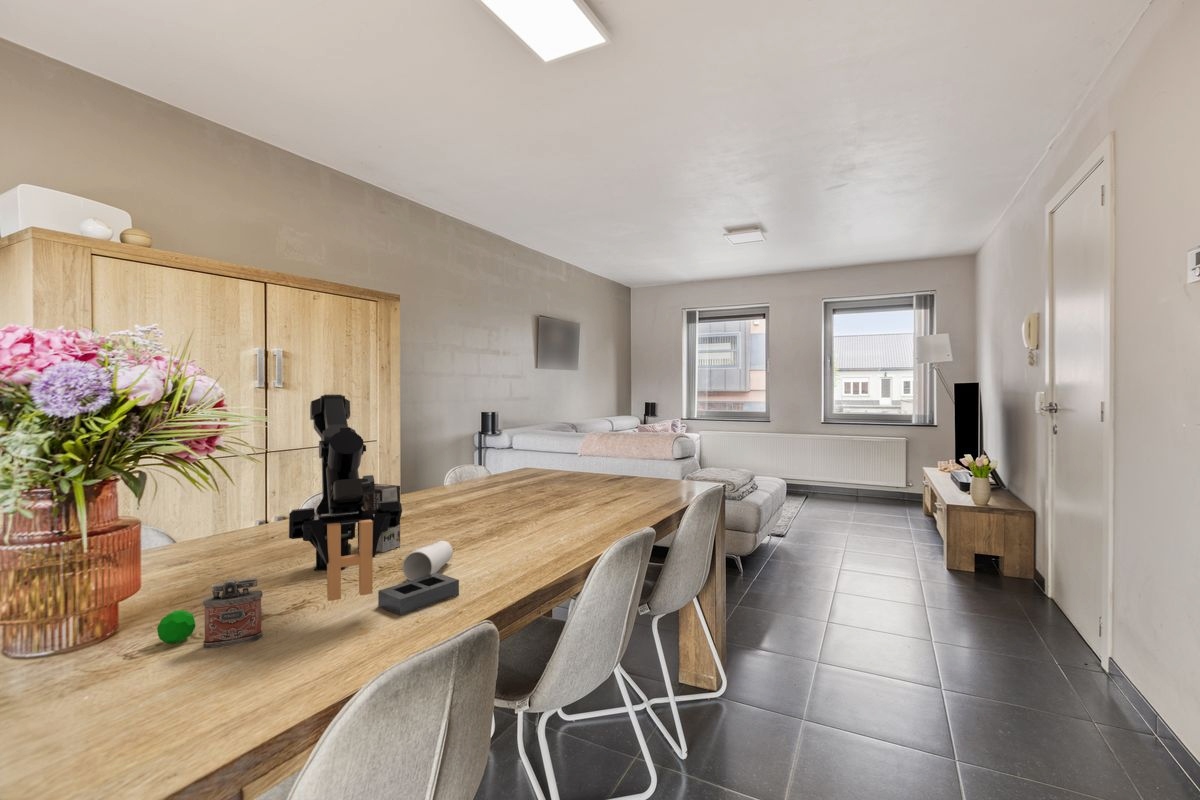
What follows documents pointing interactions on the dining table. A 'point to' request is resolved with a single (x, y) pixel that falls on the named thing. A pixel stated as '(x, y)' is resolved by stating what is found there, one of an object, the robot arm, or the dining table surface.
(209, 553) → the dining table surface
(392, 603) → the grey slotted base block
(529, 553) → the dining table surface
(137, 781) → the dining table surface
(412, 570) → the drinking glass
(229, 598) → the lighter
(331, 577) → the orange letter h block
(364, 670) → the dining table surface
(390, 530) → the coffee box
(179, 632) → the polyhedron
